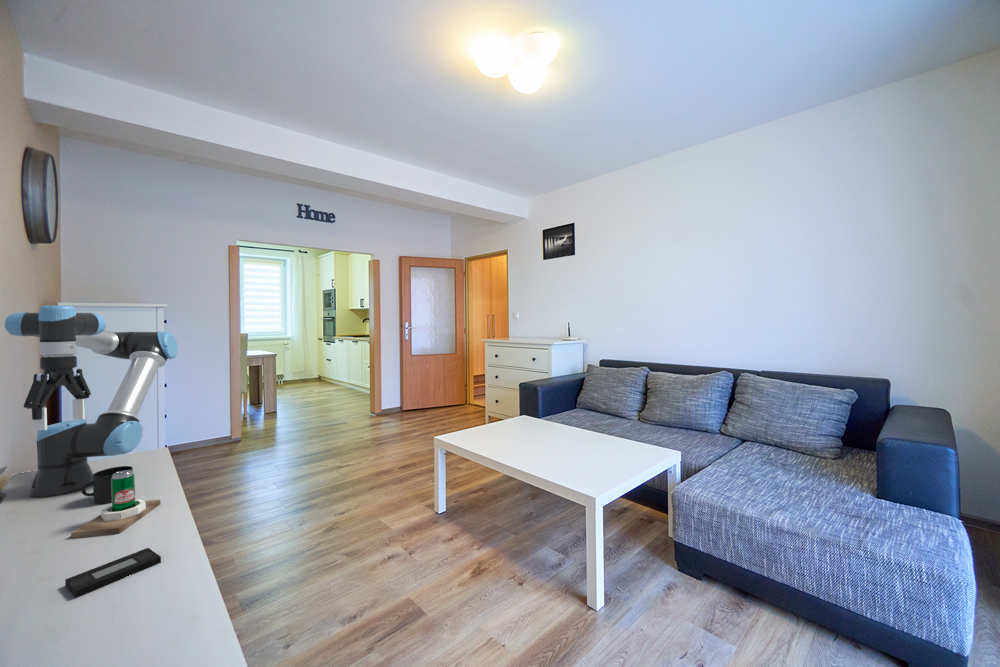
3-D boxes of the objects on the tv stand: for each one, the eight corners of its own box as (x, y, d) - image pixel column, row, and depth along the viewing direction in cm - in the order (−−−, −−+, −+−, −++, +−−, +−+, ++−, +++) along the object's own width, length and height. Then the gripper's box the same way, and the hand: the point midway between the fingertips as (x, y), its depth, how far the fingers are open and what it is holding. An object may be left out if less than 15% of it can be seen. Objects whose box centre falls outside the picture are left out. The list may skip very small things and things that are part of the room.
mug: (81, 501, 128) (80, 473, 128) (131, 489, 137) (130, 463, 137) (83, 510, 122) (82, 481, 122) (135, 497, 131) (134, 470, 131)
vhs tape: (65, 588, 86) (64, 579, 86) (148, 555, 99) (148, 547, 99) (75, 600, 83) (75, 591, 82) (161, 564, 95) (160, 556, 95)
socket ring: (117, 507, 120) (116, 501, 120) (151, 504, 122) (151, 498, 122) (93, 522, 111) (93, 515, 111) (131, 518, 113) (131, 511, 113)
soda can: (114, 518, 113) (113, 477, 113) (110, 513, 116) (108, 473, 116) (137, 511, 118) (136, 471, 117) (133, 507, 120) (131, 468, 120)
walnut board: (119, 507, 123) (119, 503, 123) (160, 504, 126) (160, 499, 126) (71, 538, 106) (71, 532, 106) (119, 533, 108) (119, 528, 108)
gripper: (35, 358, 109) (38, 434, 110) (104, 352, 134) (106, 414, 134) (2, 359, 108) (4, 436, 108) (77, 353, 132) (79, 415, 132)
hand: (60, 424), depth 121 cm, fingers open, 13 cm apart
